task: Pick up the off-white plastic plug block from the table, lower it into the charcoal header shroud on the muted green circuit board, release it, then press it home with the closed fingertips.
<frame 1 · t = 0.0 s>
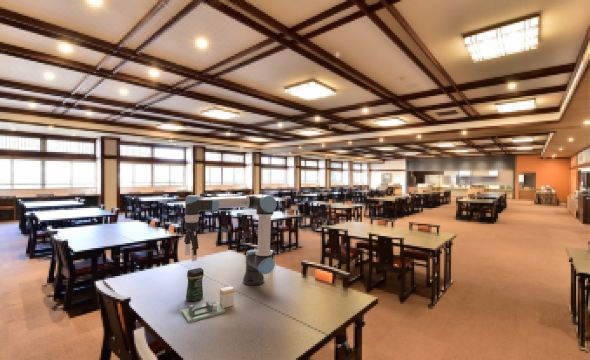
hand: (190, 257, 160), 28 cm above the table, fingers open, 13 cm apart
coffee jar: (194, 299, 169), on the table
header: (200, 313, 150), resting on board
plug: (226, 305, 161), on the table
board: (203, 312, 152), on the table
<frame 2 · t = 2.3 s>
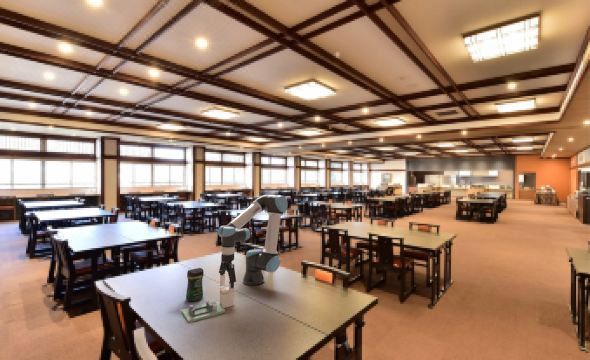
hand: (226, 289, 161), 9 cm above the table, fingers open, 13 cm apart
nothing on the table moved.
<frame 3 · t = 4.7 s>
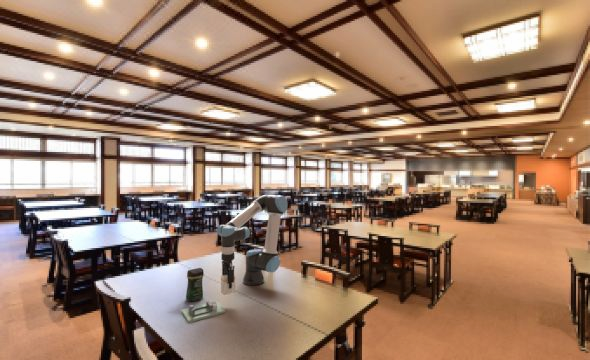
hand: (227, 291, 162), 8 cm above the table, fingers closed on plug, 4 cm apart
plug: (228, 292, 162), point 7 cm above the table, touching gripper
everything else where it was.
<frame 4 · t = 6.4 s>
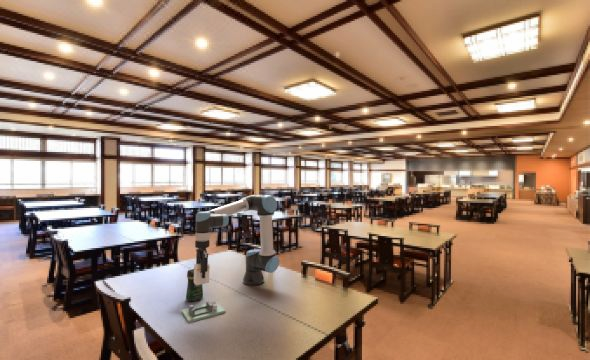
hand: (201, 282, 150), 18 cm above the table, fingers closed on plug, 4 cm apart
plug: (201, 282, 150), point 17 cm above the table, touching gripper
everything else where it was.
when the fingers open (3 cm above the table, at t = 8.4 s): plug drops 1 cm, resting on board.
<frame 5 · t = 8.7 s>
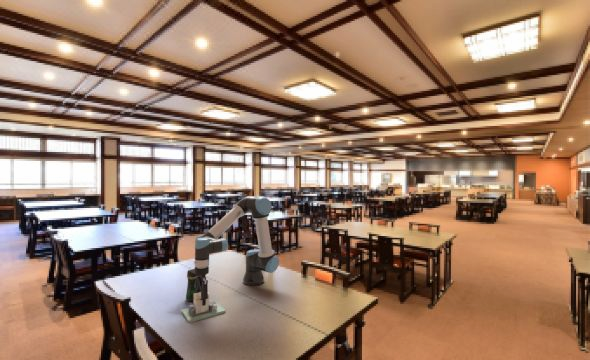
hand: (200, 307, 150), 3 cm above the table, fingers open, 8 cm apart
plug: (200, 311, 150), point 1 cm above the table, touching board
everything else where it was.
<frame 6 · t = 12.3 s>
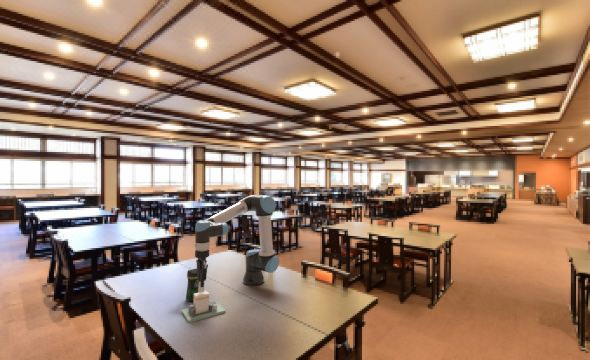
hand: (201, 292, 150), 12 cm above the table, fingers closed
nothing on the table moved.
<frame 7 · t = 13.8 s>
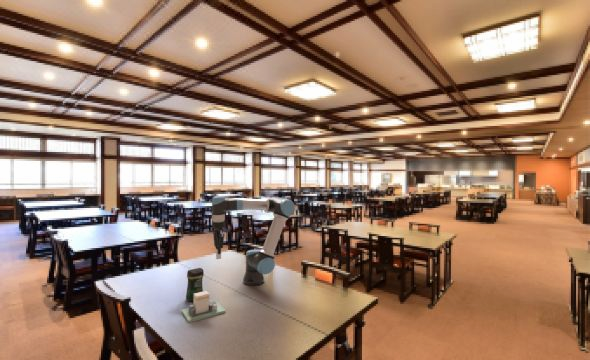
hand: (218, 258, 171), 25 cm above the table, fingers closed
nothing on the table moved.
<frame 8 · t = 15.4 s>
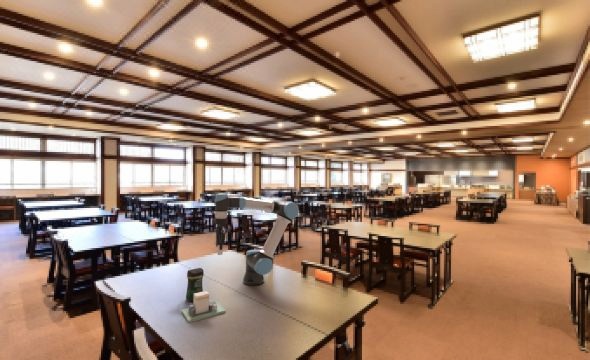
hand: (220, 254, 174), 26 cm above the table, fingers closed
nothing on the table moved.
at the end: plug 0.2 cm off-centre on the header, point 1.2 cm above the header's base; plug tilted 0°; the gripper is holding nothing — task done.
